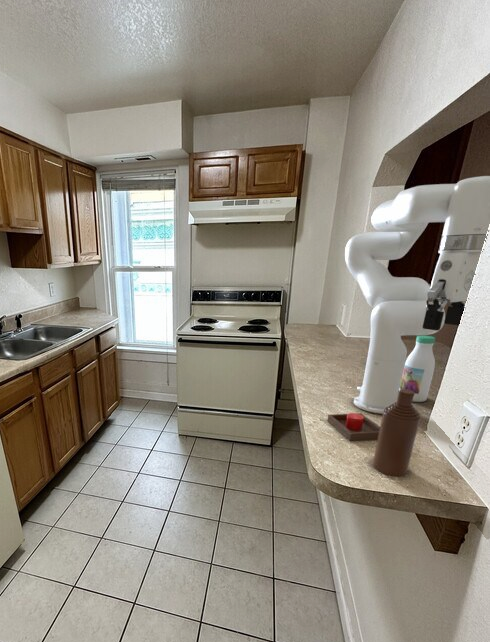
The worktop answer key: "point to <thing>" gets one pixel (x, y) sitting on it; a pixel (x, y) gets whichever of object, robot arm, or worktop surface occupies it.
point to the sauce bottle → (397, 435)
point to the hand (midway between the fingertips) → (441, 326)
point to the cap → (354, 421)
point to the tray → (366, 433)
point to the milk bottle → (419, 368)
